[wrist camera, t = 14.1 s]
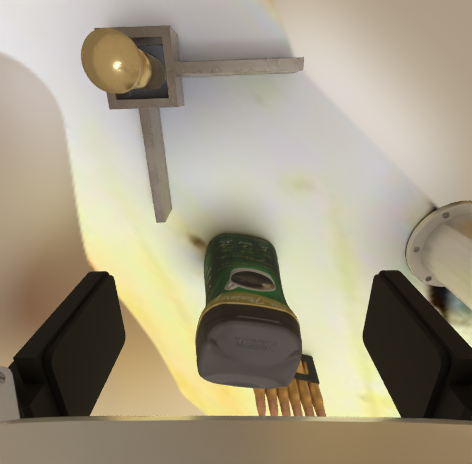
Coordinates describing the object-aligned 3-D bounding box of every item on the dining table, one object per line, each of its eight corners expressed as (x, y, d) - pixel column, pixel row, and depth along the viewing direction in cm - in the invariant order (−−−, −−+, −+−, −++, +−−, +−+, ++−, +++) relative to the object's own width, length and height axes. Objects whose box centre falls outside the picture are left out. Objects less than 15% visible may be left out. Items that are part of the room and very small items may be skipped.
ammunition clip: (247, 350, 49) (253, 424, 38) (251, 342, 48) (258, 415, 37) (307, 364, 50) (330, 439, 39) (312, 356, 50) (336, 430, 39)
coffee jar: (201, 277, 43) (184, 396, 26) (210, 226, 39) (197, 325, 23) (267, 287, 44) (292, 409, 27) (281, 239, 40) (320, 342, 24)
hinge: (295, 30, 31) (305, 21, 27) (288, 203, 38) (295, 216, 34) (112, 37, 31) (94, 28, 26) (141, 209, 38) (131, 223, 34)
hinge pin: (167, 50, 31) (134, 26, 20) (171, 93, 33) (144, 92, 22) (128, 51, 31) (74, 28, 20) (135, 94, 33) (88, 94, 22)
